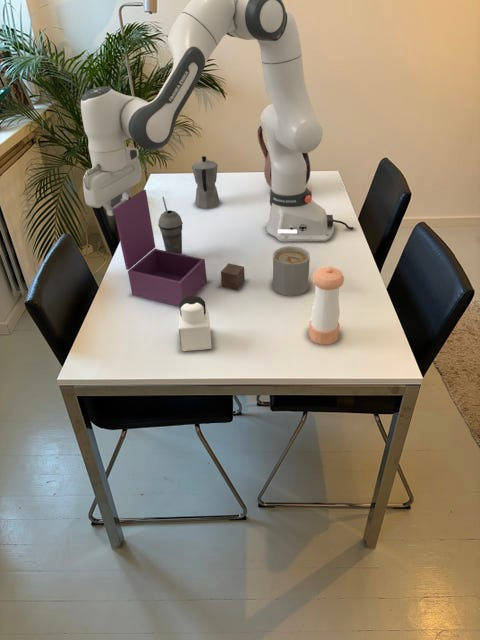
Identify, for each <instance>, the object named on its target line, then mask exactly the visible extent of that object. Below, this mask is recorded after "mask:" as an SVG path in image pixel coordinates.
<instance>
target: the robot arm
mask: <svg viewBox="0 0 480 640" xmlns="http://www.w3.org/2000/svg"><path fill="white" fill-rule="evenodd" d="M226 35H227V36H229V37H232V38H236V39H237V38H238V39H241V40H245V41H251V40H253V41H254V40H256V41H257V43H258V45H259V49H260V57H261V66H262V72H263V79H264V86H265V91H266V94H267V95H268V97H269V99H270V101H271V103H270V104H268V105H267V106H266V107H265V108H263V110H262V112H261V114H260V120H259V122H260V123H259V124H260V126H261V127H262V129H263V130H262V132H263V135H264V137H265V141H266V145H267V146H266V147H267V150H268V151H269V156H270V161H271V188H270V189H269V206H270V211H269V217H268V222H267V225H266V231H267V233H268V234H269V235H271V236H273V237H275V238H276V239H277V240H278V241H280V242H283V243H286V242H287V243H288V242H290V243H291V242H292V243H293V242H295V243H298V242H299V243H300V242H301V243H302V242H303V243H304V242H307V243H308V242H313V243H314V242H316V243H317V242H319V243H320V242H322V243H323V242H324V243H325V242H327V241H329V240H330V239H331V238H332V237H333V234H334V231H335V230H334V229H335V227H334V223H337V224H341V225H344V227H345V228H346V229H347V230H354V227H353V226H349V225H348V224H347V223H346V222H344V221H341V220H337V219H334V216H333V214H327V211H326V210H325V208H323V206H320V204H318V203H316V201H314V200H313V192H312V191H313V189H312V188H310V189H308V188H307V184H306V171H307V166H306V162H305V160H304V157H303V155H302V153H308V154H309V153H311V152H313V151H315V150H316V149H317V148H318V147H319V145H320V143H321V142H322V139H323V127H322V125H321V122H319V120H318V118H317V117H316V114H315V111H314V109H313V106H312V105H313V104H312V103H311V100H310V96H309V93H308V89H307V85H306V80H305V72H304V64H303V56H302V55H303V53H302V52H303V51H302V46H301V39H300V34H299V30H298V26H297V22H296V19H295V17H294V15H293V14H292V12H291V13H290V12H289V11H287V10H286V7H285V4H284V2H283V0H190V1H189V2H188V3H187V4H186V5H185V6H184V7H183V9H182V11H181V13H180V14H179V15H178V16H177V18H176V20H175V21H174V23H173V24H172V26H171V28H170V30H169V32H168V34H167V48H168V51H169V54H170V56H171V57H172V61H173V65H172V69H171V71H170V74H169V75H168V77H167V78H166V80H165V81H164V84H163V85H162V87H161V89H160V90H159V92H158V94H157V95H156V97H155V98H154V99H152V100H151V101H147V100H145V99H143V98H141V97H137V96H132V95H127V94H124V93H121V92H119V91H116V90H115V89H113V88H112V87H109V86H105V85H104V86H96V87H93V88H90V89H89V90H87V91H86V92H84V93H83V94H82V96H81V99H80V112H81V120H82V124H83V130H84V133H85V135H86V137H87V140H88V142H87V143H88V144H87V145H88V146H87V148H88V153H89V158H90V162H91V166H92V167H90V168H88V169H86V171H85V173H84V175H83V177H82V188H83V197H84V201H85V204H86V205H87V206H88V207H90V208H96V209H100V208H102V207H103V208H104V209H105V211H106V215H107V216H109V217H113V216H115V214H114V209H115V208H113V207H112V200H114V199H115V198H117V197H118V196H120V195H121V194H122V195H121V196H122V197H121V199H120V202H121V201H123V200H124V199H127V200H128V199H130V198H131V197H130V196H131V191H132V189H131V188H132V187H134V186H135V185H137V184H139V183H140V182H141V181H142V178H143V174H142V166H141V161H140V159H139V158H138V157H139V156H140V154H139V153H140V152H139V149H138V148H136V147H131V146H126V145H125V142H126V140H131V141H134V142H135V143H136V145H138V146H139V147H140V148H141V149H144V150H146V151H157V150H160V149H163V148H164V147H165V146H166V145H167V144H168V143H169V141H170V140H171V138H172V136H173V134H174V129H175V127H176V124H177V123H176V122H177V121H178V117H179V115H180V113H181V112H182V110H183V108H184V106H186V103H187V101H188V100H189V98H190V96H191V95H192V93H193V91H194V89H196V87H197V84H198V83H199V81H200V79H201V77H202V75H203V72H204V70H205V67H206V64H207V62H208V61H209V59H210V57H211V55H213V52H214V51H215V50H216V48H217V47H218V45H219V44H220V43H221V41H222V39H223V37H225V36H226Z"/></svg>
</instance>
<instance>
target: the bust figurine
mask: <svg viewBox="0 0 480 640" xmlns="http://www.w3.org/2000/svg"><path fill="white" fill-rule="evenodd" d="M178 334H179V340H180V347H181V348H180V349H181V352H188V351H191V352H192V351H203V350H211V349H212V336H211V324H210V312H209V309H208V308H206V301H205V299H203V298H202V297H201V296H197V295H195V296H190V297H186V298H184V299H183V300H182V301H181V302H180V303H179V311H178Z"/></svg>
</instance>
